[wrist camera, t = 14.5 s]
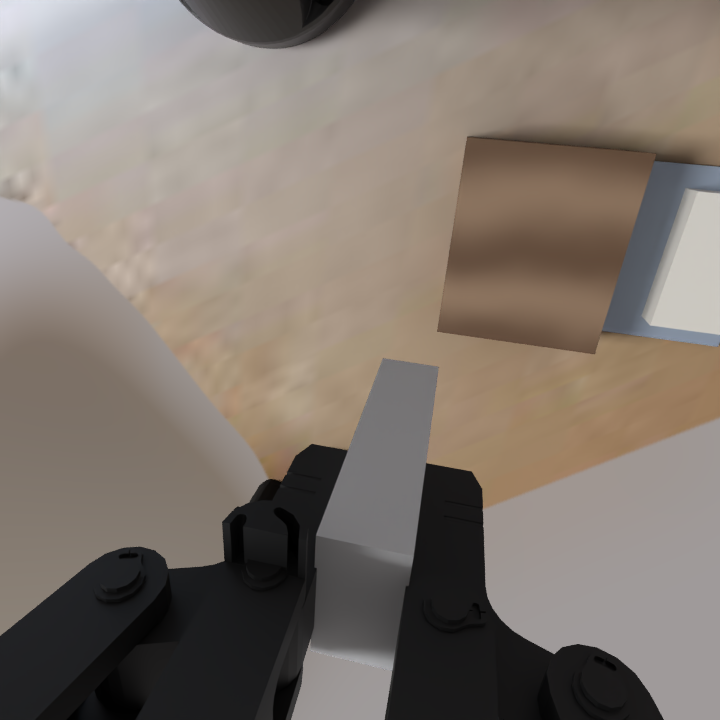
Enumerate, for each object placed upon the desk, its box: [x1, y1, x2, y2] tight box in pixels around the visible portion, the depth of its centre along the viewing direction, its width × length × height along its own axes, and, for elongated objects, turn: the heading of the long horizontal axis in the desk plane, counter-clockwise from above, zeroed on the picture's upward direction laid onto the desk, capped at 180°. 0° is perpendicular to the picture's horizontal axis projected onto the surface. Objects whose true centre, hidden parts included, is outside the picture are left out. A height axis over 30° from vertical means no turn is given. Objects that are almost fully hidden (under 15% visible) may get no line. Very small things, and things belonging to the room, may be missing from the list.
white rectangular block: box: [641, 188, 720, 335], centre depth 33 cm, size 9×6×2 cm, turn 176°
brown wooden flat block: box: [437, 137, 656, 354], centre depth 35 cm, size 13×11×4 cm
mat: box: [602, 161, 720, 347], centre depth 35 cm, size 12×9×1 cm
